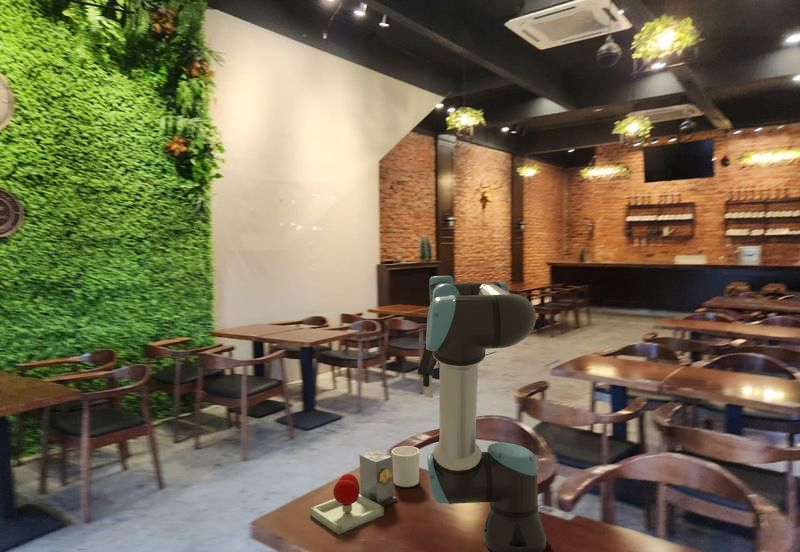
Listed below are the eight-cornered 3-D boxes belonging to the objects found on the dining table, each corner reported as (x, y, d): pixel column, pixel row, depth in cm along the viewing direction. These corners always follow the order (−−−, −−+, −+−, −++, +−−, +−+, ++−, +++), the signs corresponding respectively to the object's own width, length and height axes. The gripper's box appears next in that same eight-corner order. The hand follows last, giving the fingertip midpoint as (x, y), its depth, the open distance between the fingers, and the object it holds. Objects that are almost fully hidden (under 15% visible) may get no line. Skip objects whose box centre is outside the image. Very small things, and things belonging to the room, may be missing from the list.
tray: (384, 515, 142) (383, 507, 142) (338, 534, 133) (338, 526, 133) (354, 498, 153) (354, 491, 153) (310, 515, 143) (310, 507, 143)
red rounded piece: (354, 522, 138) (353, 485, 137) (329, 520, 139) (328, 484, 139) (363, 506, 147) (362, 471, 146) (340, 504, 148) (339, 470, 148)
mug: (417, 490, 157) (416, 456, 157) (389, 488, 159) (388, 455, 159) (424, 475, 168) (423, 444, 168) (397, 474, 170) (396, 443, 170)
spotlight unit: (396, 501, 151) (395, 457, 150) (378, 508, 146) (376, 463, 146) (376, 490, 158) (374, 448, 158) (357, 497, 154) (356, 454, 153)
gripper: (461, 320, 171) (463, 384, 172) (404, 328, 155) (406, 398, 155) (478, 322, 165) (480, 387, 166) (421, 330, 149) (423, 402, 150)
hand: (444, 393), depth 161 cm, fingers open, 13 cm apart
